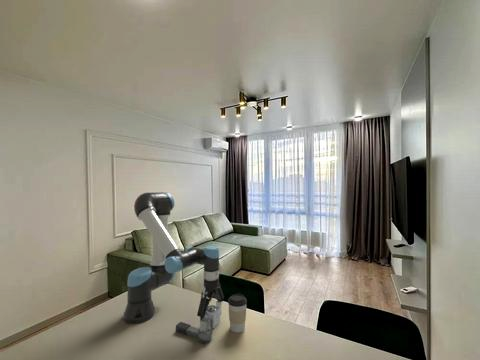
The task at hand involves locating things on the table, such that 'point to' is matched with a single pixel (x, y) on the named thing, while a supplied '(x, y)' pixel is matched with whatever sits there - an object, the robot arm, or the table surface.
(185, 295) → the table surface
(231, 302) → the coffee cup
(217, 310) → the socket
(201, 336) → the grey l-shaped piece
